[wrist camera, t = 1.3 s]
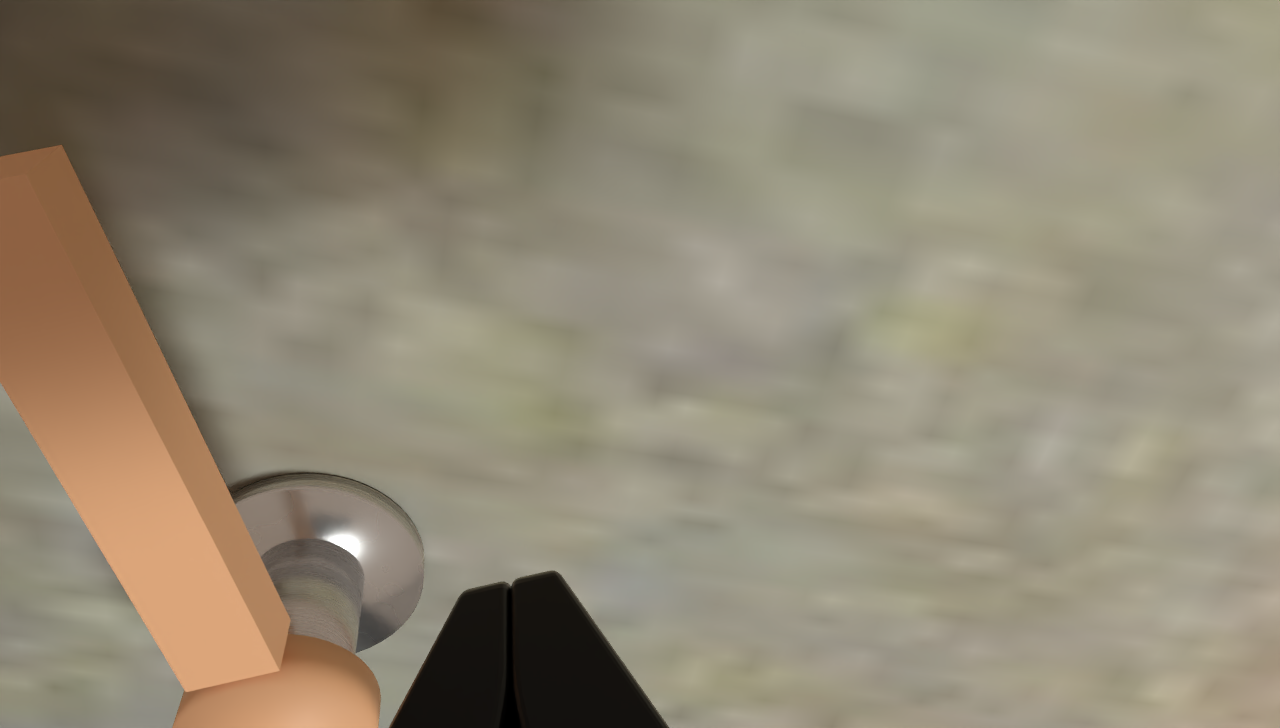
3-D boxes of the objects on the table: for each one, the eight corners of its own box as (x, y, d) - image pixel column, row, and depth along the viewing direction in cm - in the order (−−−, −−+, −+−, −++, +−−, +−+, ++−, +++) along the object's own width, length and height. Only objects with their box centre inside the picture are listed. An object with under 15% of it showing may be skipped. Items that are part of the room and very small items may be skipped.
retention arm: (402, 739, 19) (398, 791, 18) (225, 780, 19) (212, 835, 18) (137, 130, 13) (109, 157, 12) (-140, 182, 12) (-194, 216, 11)
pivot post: (448, 614, 23) (445, 737, 20) (243, 660, 23) (209, 792, 20) (390, 452, 20) (376, 564, 17) (158, 501, 20) (102, 625, 17)
